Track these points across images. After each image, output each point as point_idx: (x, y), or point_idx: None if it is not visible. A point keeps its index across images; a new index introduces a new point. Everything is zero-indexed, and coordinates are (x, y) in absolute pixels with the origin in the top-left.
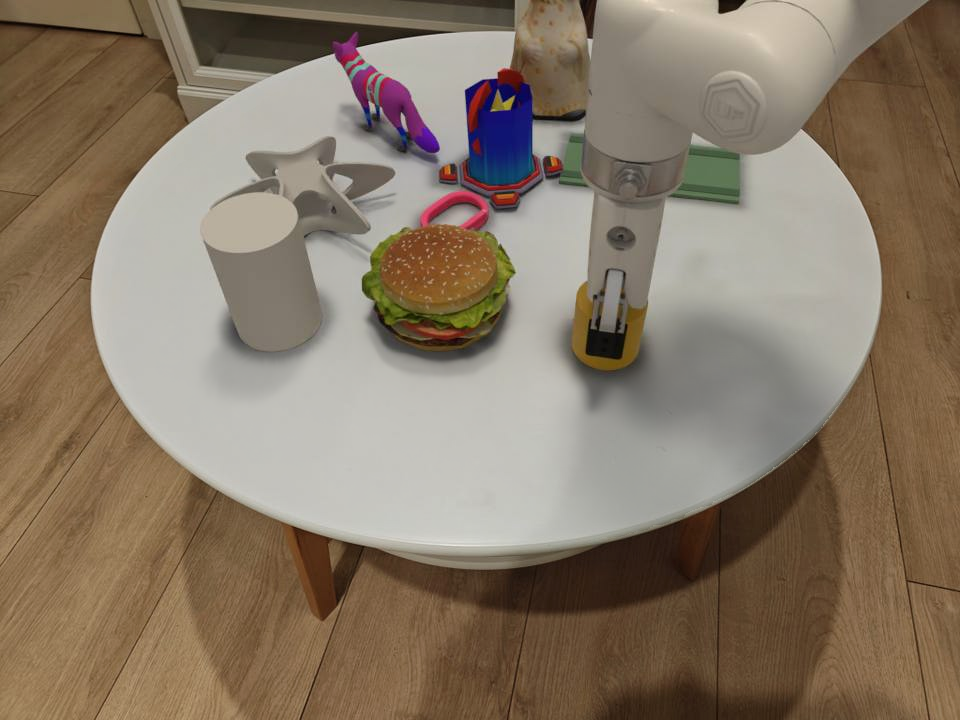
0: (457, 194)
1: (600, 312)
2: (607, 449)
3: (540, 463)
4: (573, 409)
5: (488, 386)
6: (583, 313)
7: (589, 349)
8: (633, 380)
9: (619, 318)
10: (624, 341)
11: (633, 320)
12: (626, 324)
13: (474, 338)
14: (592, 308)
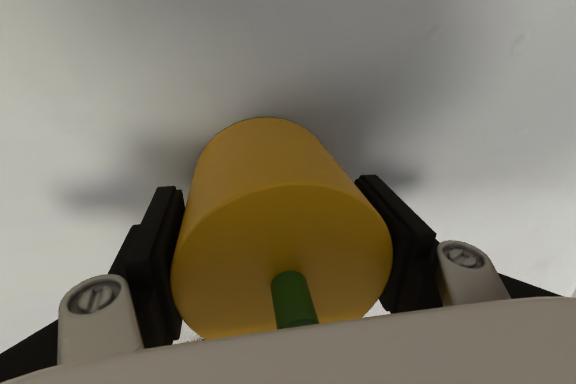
0: None
1: (350, 296)
2: (500, 143)
3: (505, 227)
4: (418, 207)
5: (376, 312)
6: None
7: None
8: (350, 118)
9: (371, 251)
10: (404, 204)
11: (374, 213)
12: (420, 239)
13: None
14: (335, 313)
